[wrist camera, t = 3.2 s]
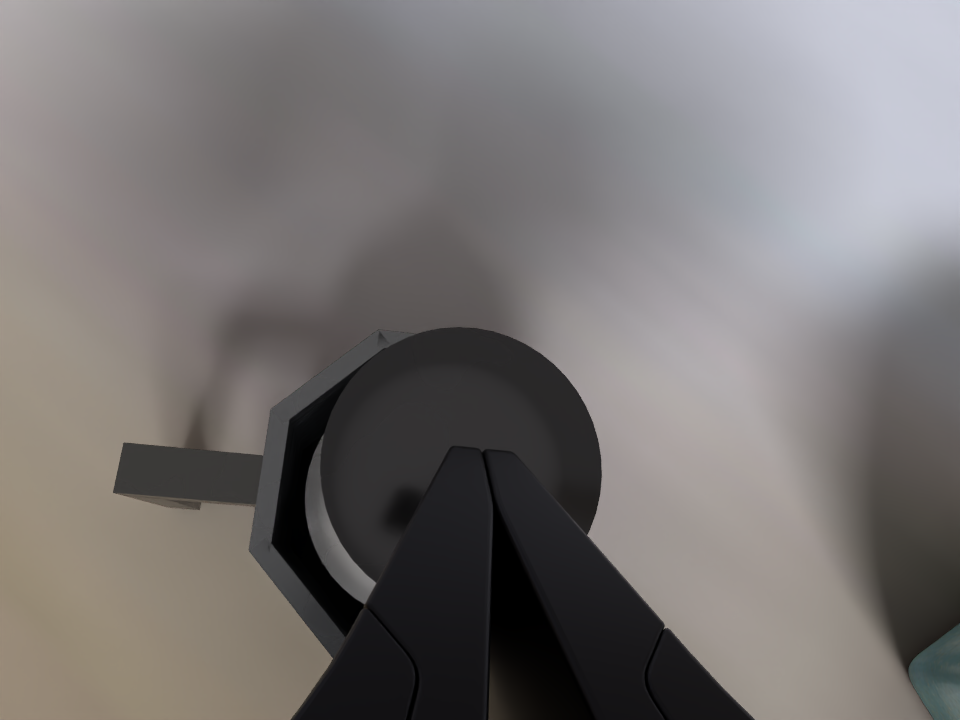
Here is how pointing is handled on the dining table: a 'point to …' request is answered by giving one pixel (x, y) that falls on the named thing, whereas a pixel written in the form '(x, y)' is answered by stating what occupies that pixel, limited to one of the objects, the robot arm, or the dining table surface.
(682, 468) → the dining table surface
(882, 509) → the dining table surface
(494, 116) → the dining table surface
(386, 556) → the dark round piece
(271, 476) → the grey octagonal mug
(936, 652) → the flower pot
